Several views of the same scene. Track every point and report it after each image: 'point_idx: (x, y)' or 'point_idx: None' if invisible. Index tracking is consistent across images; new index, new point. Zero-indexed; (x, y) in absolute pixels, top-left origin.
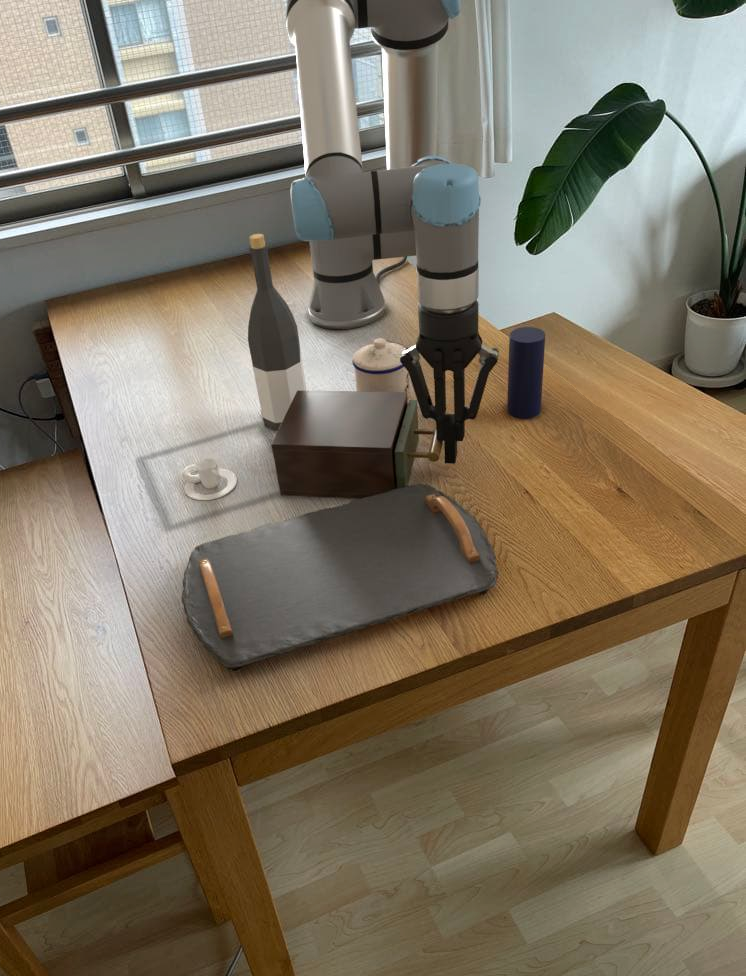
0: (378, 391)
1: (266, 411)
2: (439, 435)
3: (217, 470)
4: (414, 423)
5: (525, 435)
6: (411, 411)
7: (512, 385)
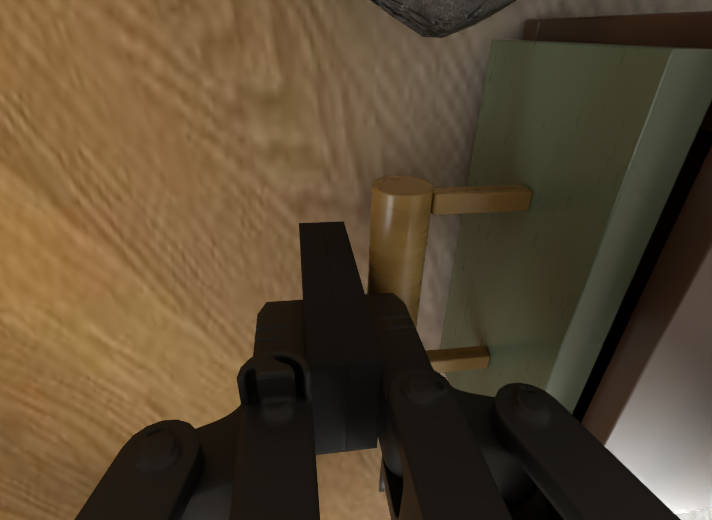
0: None
1: None
2: (392, 312)
3: None
4: (498, 388)
5: (121, 423)
6: None
7: None
